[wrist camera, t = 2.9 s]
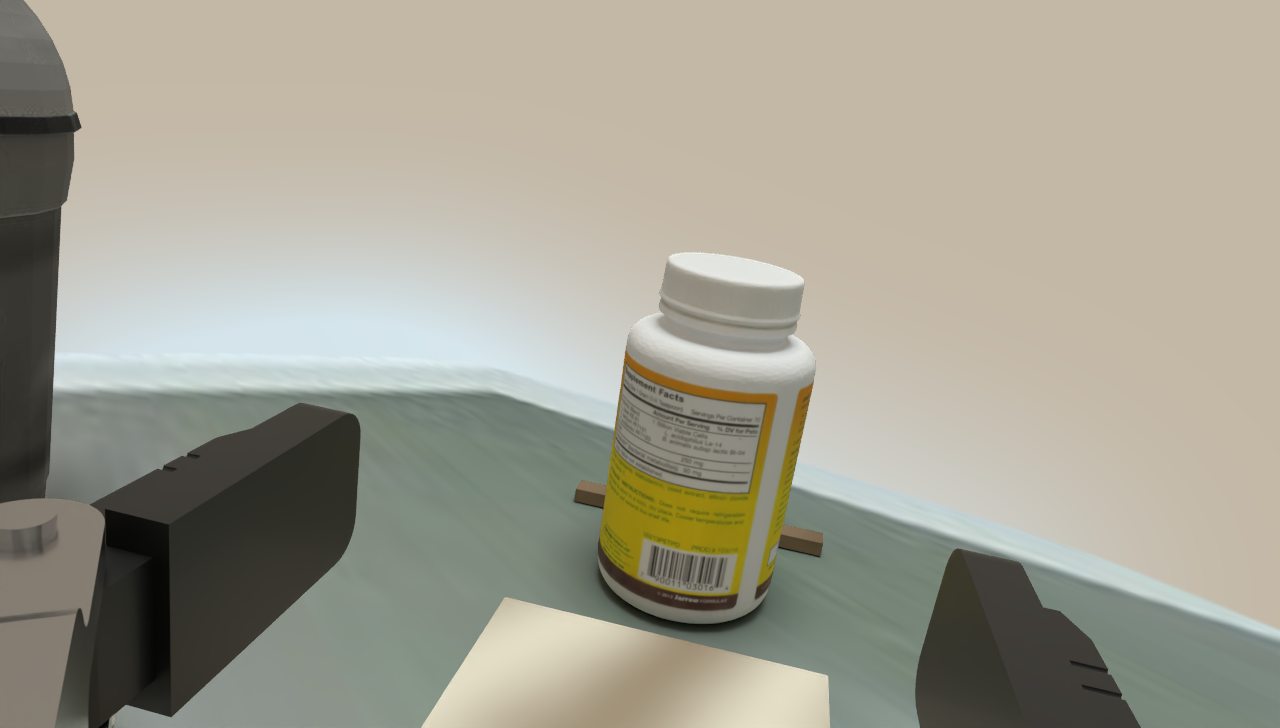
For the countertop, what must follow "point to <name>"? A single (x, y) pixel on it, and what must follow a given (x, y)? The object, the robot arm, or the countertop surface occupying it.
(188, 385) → the countertop surface
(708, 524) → the supplement bottle
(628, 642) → the game track
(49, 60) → the beverage cup
